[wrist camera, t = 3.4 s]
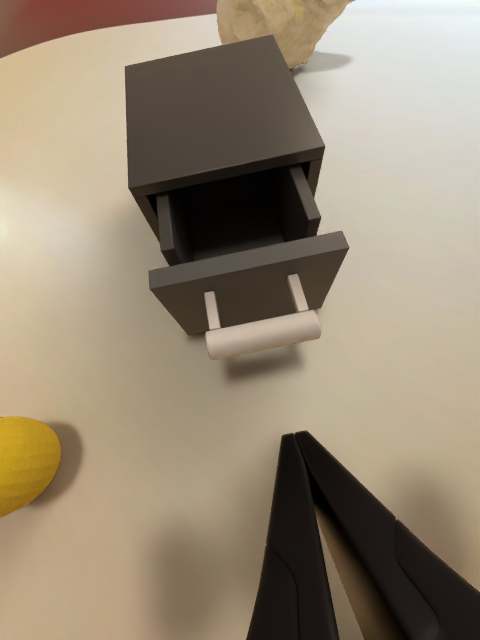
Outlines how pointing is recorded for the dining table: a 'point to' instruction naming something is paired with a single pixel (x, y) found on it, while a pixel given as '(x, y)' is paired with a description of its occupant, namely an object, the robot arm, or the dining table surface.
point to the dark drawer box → (215, 120)
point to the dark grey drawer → (246, 260)
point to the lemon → (25, 461)
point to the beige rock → (279, 23)
